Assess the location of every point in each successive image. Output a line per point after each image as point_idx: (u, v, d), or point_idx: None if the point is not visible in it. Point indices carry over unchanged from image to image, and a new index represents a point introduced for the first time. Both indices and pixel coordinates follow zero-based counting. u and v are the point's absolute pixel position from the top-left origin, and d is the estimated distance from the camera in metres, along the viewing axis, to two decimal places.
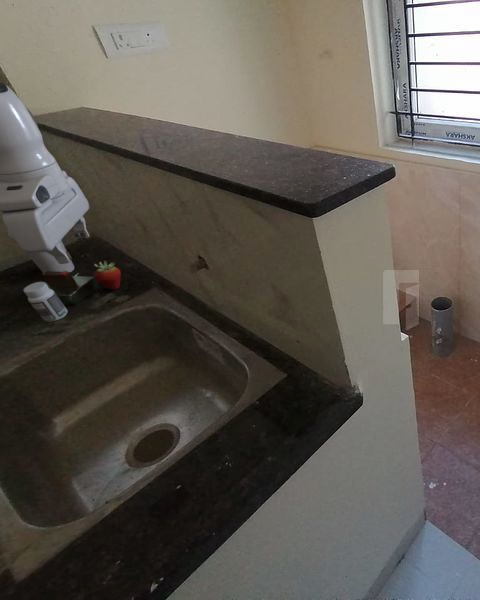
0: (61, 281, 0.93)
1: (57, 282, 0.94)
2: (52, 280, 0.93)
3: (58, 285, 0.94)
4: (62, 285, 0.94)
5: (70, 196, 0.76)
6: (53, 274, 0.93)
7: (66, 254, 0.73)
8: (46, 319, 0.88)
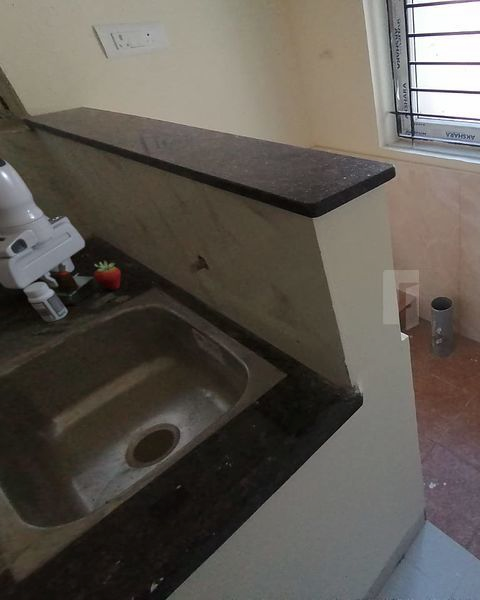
0: (61, 281, 0.93)
1: None
2: None
3: None
4: (62, 285, 0.94)
5: (63, 239, 0.93)
6: (53, 274, 0.93)
7: (55, 280, 0.92)
8: (46, 319, 0.88)
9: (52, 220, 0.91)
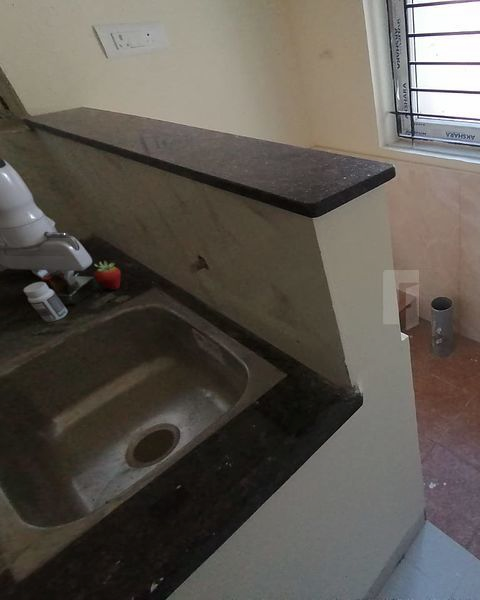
0: None
1: None
2: None
3: None
4: None
5: (56, 254, 0.88)
6: (53, 273, 0.93)
7: None
8: (46, 319, 0.88)
9: (52, 234, 0.86)
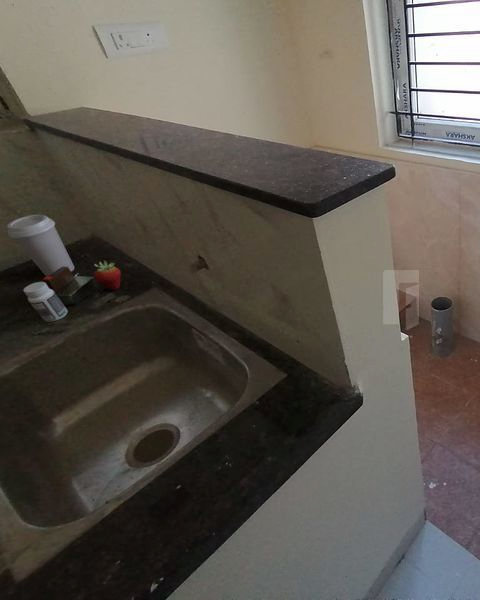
0: None
1: None
2: None
3: None
4: None
5: None
6: (53, 273, 0.93)
7: None
8: (46, 319, 0.88)
9: None
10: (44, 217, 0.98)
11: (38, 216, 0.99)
